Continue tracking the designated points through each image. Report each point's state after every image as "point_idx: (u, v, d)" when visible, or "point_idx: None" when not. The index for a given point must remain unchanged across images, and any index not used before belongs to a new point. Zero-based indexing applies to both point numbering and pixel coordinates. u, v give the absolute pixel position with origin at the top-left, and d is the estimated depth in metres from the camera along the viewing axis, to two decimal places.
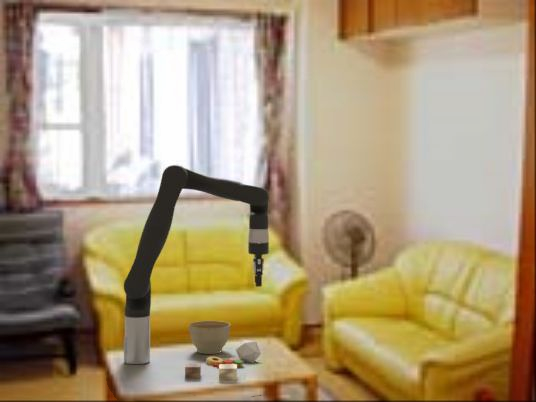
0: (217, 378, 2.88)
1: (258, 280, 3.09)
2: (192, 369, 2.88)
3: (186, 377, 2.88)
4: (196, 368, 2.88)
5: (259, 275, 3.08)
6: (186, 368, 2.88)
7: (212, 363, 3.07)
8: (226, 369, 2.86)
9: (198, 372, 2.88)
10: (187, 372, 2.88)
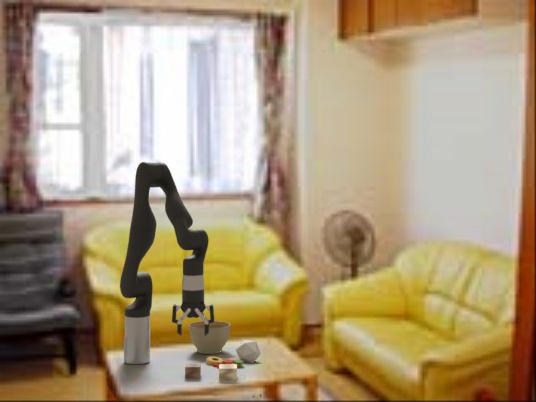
0: (217, 378, 2.88)
1: (208, 328, 2.90)
2: (192, 369, 2.88)
3: (186, 377, 2.88)
4: (196, 368, 2.88)
5: None
6: (186, 368, 2.88)
7: (212, 363, 3.07)
8: (226, 369, 2.86)
9: (198, 372, 2.88)
10: (187, 372, 2.88)
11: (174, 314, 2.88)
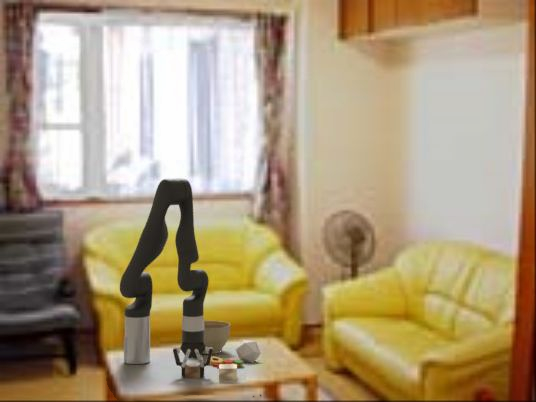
0: (217, 378, 2.88)
1: None
2: (192, 369, 2.88)
3: (186, 377, 2.88)
4: (196, 368, 2.88)
5: None
6: (186, 368, 2.88)
7: (212, 363, 3.07)
8: (226, 369, 2.86)
9: (198, 372, 2.88)
10: (187, 372, 2.88)
11: (176, 357, 2.89)
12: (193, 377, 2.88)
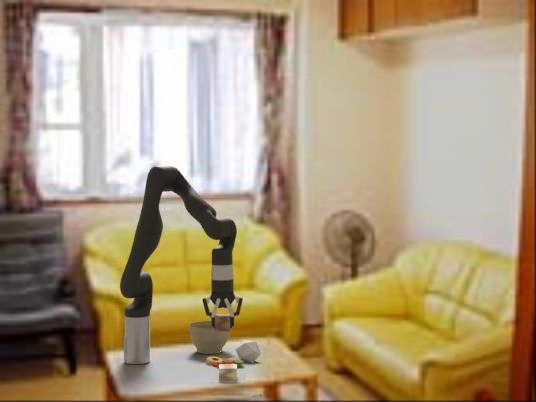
0: (217, 378, 2.88)
1: None
2: (222, 318, 2.85)
3: (216, 327, 2.85)
4: (226, 318, 2.85)
5: None
6: (216, 317, 2.85)
7: (212, 363, 3.07)
8: (226, 369, 2.86)
9: (228, 321, 2.85)
10: (217, 322, 2.85)
11: (206, 307, 2.86)
12: (223, 327, 2.85)
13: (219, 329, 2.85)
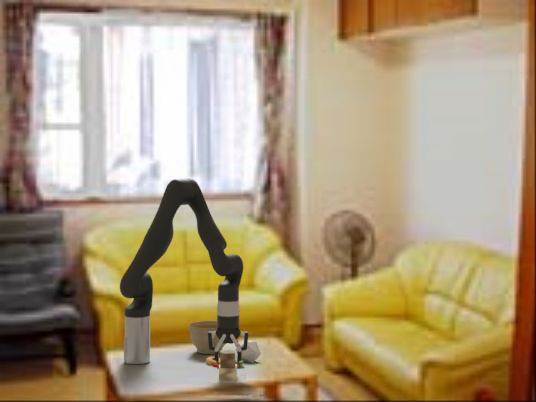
0: (217, 378, 2.88)
1: None
2: (227, 355, 2.86)
3: (221, 364, 2.86)
4: (231, 355, 2.86)
5: None
6: (221, 354, 2.86)
7: (212, 363, 3.07)
8: (226, 369, 2.86)
9: (233, 358, 2.86)
10: (222, 358, 2.86)
11: (210, 341, 2.87)
12: (228, 364, 2.86)
13: (224, 366, 2.86)
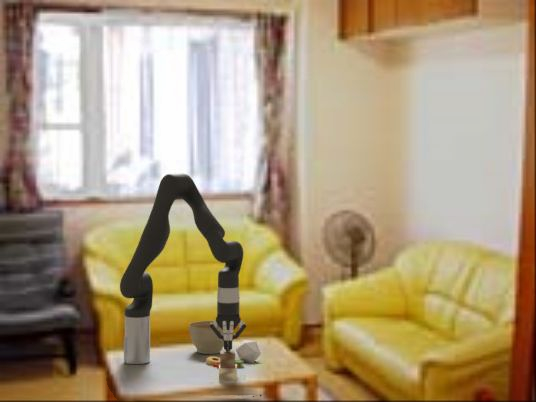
0: (217, 378, 2.88)
1: None
2: (227, 355, 2.86)
3: (221, 364, 2.86)
4: (231, 355, 2.86)
5: None
6: (221, 354, 2.86)
7: (212, 363, 3.07)
8: (226, 369, 2.86)
9: (233, 358, 2.86)
10: (222, 358, 2.86)
11: (216, 331, 2.87)
12: (228, 364, 2.86)
13: (224, 366, 2.86)
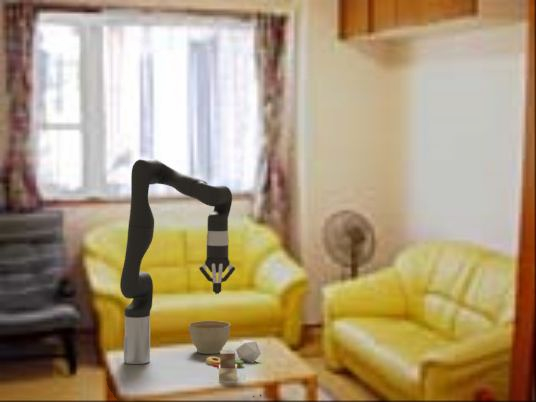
0: (217, 378, 2.88)
1: None
2: (227, 355, 2.86)
3: (221, 364, 2.86)
4: (231, 355, 2.86)
5: None
6: (221, 354, 2.86)
7: (212, 363, 3.07)
8: (226, 369, 2.86)
9: (233, 358, 2.86)
10: (222, 358, 2.86)
11: (205, 274, 2.93)
12: (228, 364, 2.86)
13: (224, 366, 2.86)
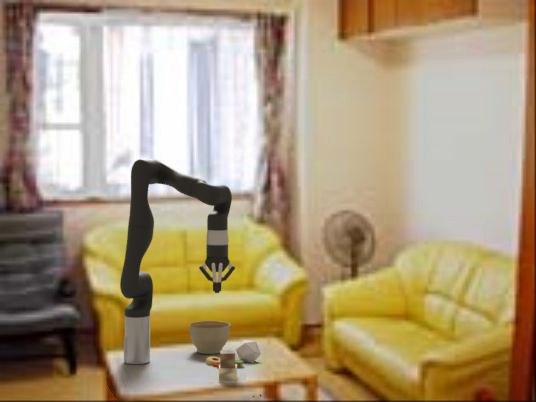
0: (217, 378, 2.88)
1: None
2: (227, 355, 2.86)
3: (221, 364, 2.86)
4: (231, 355, 2.86)
5: None
6: (221, 354, 2.86)
7: (212, 363, 3.07)
8: (226, 369, 2.86)
9: (233, 358, 2.86)
10: (222, 358, 2.86)
11: (205, 273, 2.93)
12: (228, 364, 2.86)
13: (224, 366, 2.86)
